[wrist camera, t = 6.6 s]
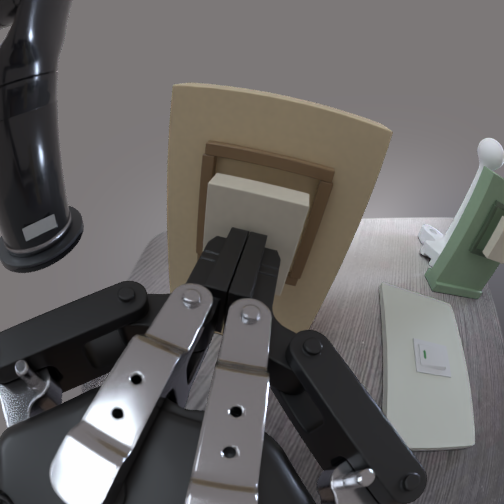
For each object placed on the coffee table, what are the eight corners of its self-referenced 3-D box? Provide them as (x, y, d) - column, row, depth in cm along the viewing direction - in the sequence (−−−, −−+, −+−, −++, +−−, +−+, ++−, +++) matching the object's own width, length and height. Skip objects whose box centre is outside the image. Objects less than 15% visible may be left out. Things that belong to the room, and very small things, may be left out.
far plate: (477, 299, 28) (535, 204, 18) (432, 291, 27) (496, 174, 18) (470, 284, 30) (522, 192, 20) (424, 274, 30) (481, 163, 20)
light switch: (478, 442, 11) (387, 445, 12) (469, 447, 12) (377, 449, 13) (452, 301, 24) (382, 278, 26) (447, 308, 25) (378, 286, 26)
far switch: (503, 264, 21) (523, 230, 18) (486, 258, 21) (508, 221, 18) (498, 258, 22) (517, 224, 19) (481, 251, 22) (502, 215, 19)
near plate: (298, 353, 19) (396, 134, 9) (169, 319, 20) (167, 85, 10) (301, 322, 22) (380, 122, 12) (183, 292, 22) (193, 81, 12)
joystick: (439, 274, 31) (504, 142, 18) (402, 241, 35) (455, 113, 23) (461, 257, 36) (511, 153, 23) (430, 230, 40) (473, 129, 28)
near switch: (280, 296, 13) (309, 206, 10) (201, 276, 13) (207, 182, 10) (282, 279, 14) (309, 193, 11) (208, 261, 14) (216, 172, 11)
